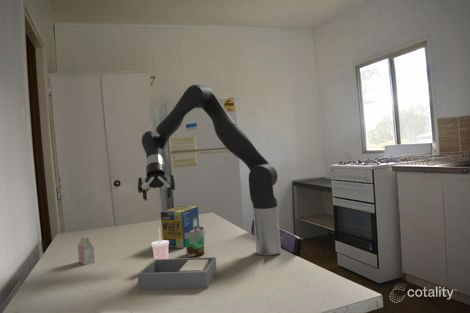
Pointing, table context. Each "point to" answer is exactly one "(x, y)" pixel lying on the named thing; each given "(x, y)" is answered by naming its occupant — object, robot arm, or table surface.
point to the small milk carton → (85, 251)
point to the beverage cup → (160, 248)
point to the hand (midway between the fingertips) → (157, 198)
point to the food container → (195, 242)
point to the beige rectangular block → (195, 265)
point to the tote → (175, 274)
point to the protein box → (178, 224)
